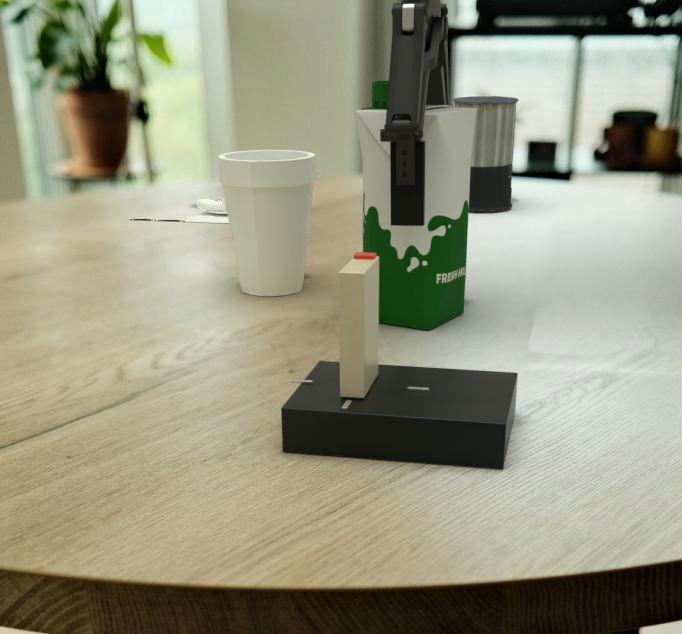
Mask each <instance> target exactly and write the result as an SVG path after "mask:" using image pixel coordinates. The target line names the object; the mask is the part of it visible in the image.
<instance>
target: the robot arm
mask: <svg viewBox="0 0 682 634" xmlns="http://www.w3.org/2000/svg"><path fill="white" fill-rule="evenodd" d="M448 15H449V8H448V6H447V3H441V0H401V2H394V3H393V4H392V8H391V16H392V18H391V20H392V22H391V23H392V27H391V46H390V47H391V48H390V61H389V73H388V81H389V85H388V98H387V112H386V124H385V125H384V129H380V140H381V142H390V187H391V226H424V224H425V141H421V140H422V137H423V124H424V116H425V108H426V105H450V106H451V107H452V103H451V97H450V94H451V93H450V76H449V74H450V73H449V50H448V49H449V48H448V32H449V26H450V25H449V16H448Z"/></svg>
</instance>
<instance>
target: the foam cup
mask: <svg viewBox="0 0 682 634" xmlns="http://www.w3.org/2000/svg"><path fill="white" fill-rule="evenodd" d="M217 156H218V157H217V158H218V175H219V177H218V178H219V182H220V185H221V184H222V185H223V191H224V196H225V202H226V208H227V213H228V219H229V223H228V224H229V229H230V230H229V231H230V234H231V241H232V246H233V252H234V257H235V262H236V269H237V274H238V280H239V284H240V290H241V292H242V293H244V294H247V295H248V296H249V295H250V296H257V297H280V296H291V295H293V294H297V293H299V292H301V291H302V290H303V289H304V287H303V285H304V281H305V272H306V263H307V254H308V253H307V252H308V245H309V244H308V243H309V233H310V224H311V216H312V215H311V214H312V204H313V197H314V196H313V195H314V185H315V182H316V181H317V160H316V159H317V155H316V154H315V153H313V152H310V151H304V150H295V149H253V150H239V151H231V152H224V153H221V154H218V155H217Z"/></svg>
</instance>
